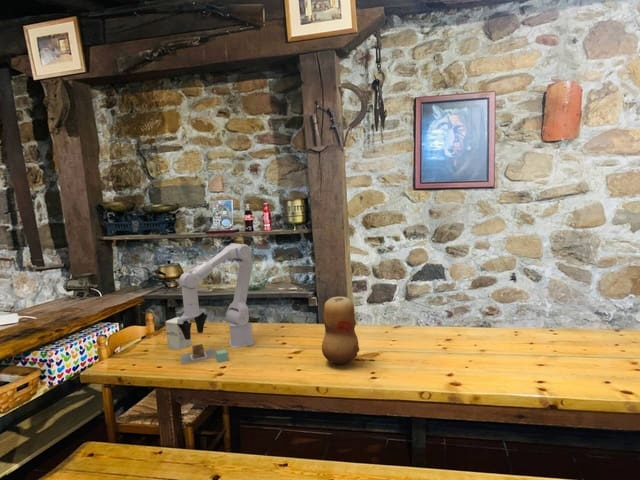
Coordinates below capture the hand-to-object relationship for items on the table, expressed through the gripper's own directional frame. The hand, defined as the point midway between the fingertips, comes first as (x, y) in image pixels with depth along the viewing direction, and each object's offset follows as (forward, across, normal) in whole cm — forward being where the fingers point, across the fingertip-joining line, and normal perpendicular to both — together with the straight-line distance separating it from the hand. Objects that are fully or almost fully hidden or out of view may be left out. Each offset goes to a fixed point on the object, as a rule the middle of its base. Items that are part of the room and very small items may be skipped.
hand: (194, 335), depth 169 cm
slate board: (+10, -2, 0) cm, 10 cm away
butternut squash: (+10, -13, +58) cm, 60 cm away
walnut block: (+9, -2, 0) cm, 9 cm away
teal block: (+10, -1, +12) cm, 15 cm away
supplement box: (+10, -8, -16) cm, 20 cm away
